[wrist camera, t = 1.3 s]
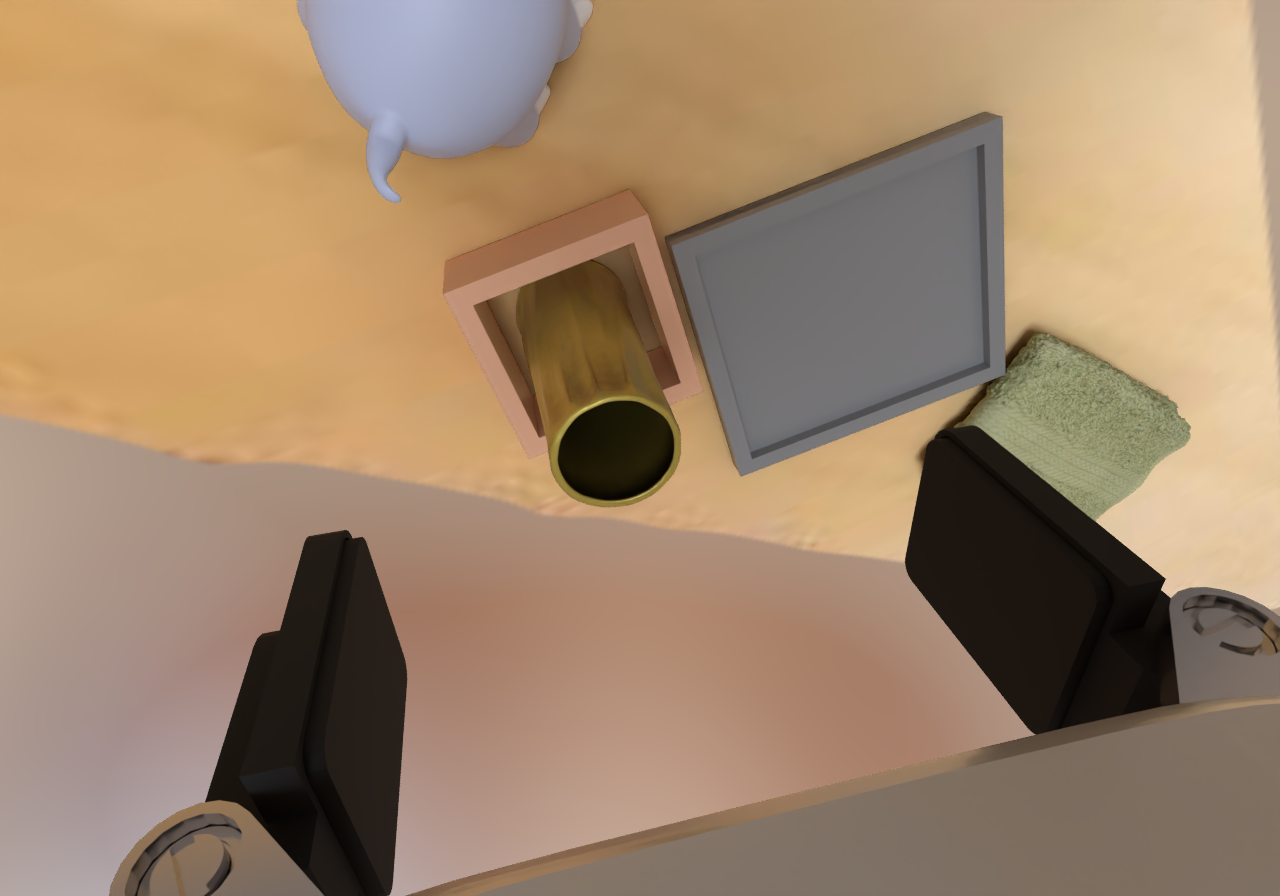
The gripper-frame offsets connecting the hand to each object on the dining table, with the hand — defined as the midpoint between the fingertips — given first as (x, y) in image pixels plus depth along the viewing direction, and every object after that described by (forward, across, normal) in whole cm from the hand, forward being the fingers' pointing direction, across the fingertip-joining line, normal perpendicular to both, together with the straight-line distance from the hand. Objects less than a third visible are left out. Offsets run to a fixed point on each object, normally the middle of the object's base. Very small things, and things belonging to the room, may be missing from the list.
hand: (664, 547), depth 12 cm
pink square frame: (+28, -2, +7) cm, 29 cm away
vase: (+28, -2, +7) cm, 29 cm away
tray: (+28, -18, +9) cm, 34 cm away
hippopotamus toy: (+28, +2, -9) cm, 30 cm away
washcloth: (+28, -34, +21) cm, 49 cm away
